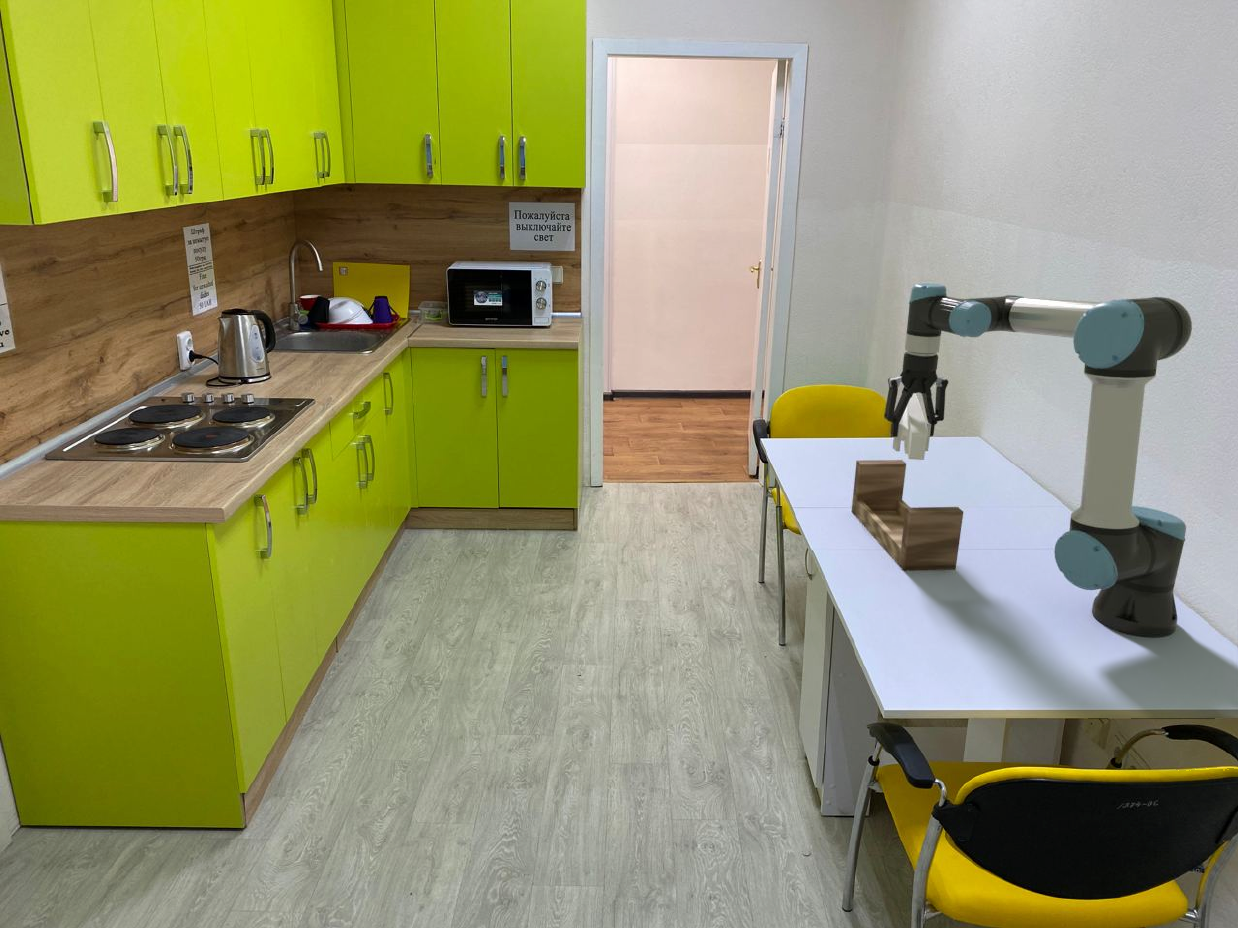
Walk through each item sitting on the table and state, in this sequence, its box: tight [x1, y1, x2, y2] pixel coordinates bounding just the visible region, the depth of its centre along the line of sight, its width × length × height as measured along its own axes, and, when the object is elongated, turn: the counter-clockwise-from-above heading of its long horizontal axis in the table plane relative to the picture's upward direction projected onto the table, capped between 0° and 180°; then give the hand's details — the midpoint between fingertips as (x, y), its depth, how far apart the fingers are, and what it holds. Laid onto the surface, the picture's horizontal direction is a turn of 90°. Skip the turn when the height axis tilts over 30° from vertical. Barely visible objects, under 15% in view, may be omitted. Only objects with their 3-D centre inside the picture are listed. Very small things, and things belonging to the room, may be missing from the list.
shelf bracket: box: [900, 393, 928, 461], centre depth 225 cm, size 6×25×13 cm, turn 169°
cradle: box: [851, 459, 964, 572], centre depth 230 cm, size 37×12×14 cm, turn 5°
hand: (910, 449), depth 225 cm, fingers closed on shelf bracket, 6 cm apart
